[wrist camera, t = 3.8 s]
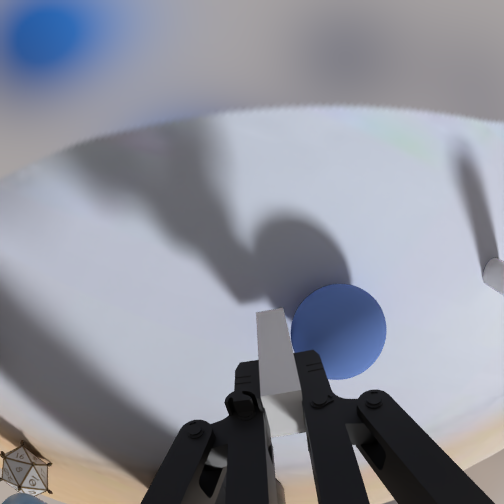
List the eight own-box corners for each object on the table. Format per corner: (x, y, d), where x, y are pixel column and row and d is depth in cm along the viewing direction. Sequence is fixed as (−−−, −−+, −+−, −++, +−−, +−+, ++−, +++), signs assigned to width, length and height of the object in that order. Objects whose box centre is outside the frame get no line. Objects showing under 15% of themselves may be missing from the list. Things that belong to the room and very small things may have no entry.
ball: (296, 354, 20) (311, 411, 14) (274, 286, 18) (286, 334, 13) (370, 329, 19) (403, 377, 14) (358, 258, 18) (398, 294, 13)
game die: (35, 434, 29) (-16, 448, 20) (40, 435, 24) (-21, 452, 16) (63, 485, 26) (13, 502, 18) (74, 495, 22) (15, 515, 14)
